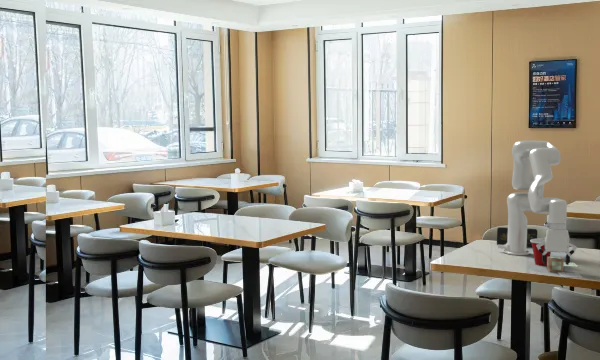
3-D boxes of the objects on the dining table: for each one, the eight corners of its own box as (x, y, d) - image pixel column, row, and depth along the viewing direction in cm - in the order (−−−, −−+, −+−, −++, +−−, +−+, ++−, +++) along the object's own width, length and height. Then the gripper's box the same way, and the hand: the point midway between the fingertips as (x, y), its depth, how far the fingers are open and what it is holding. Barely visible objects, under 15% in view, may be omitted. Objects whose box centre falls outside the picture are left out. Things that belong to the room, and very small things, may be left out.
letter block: (549, 272, 296) (549, 258, 296) (546, 269, 302) (547, 256, 302) (563, 273, 295) (563, 259, 294) (560, 270, 301) (561, 256, 300)
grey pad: (561, 277, 286) (561, 276, 286) (557, 272, 295) (557, 272, 295) (583, 278, 285) (583, 277, 285) (578, 273, 294) (578, 273, 293)
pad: (558, 265, 309) (558, 265, 309) (554, 262, 318) (554, 261, 318) (578, 266, 308) (578, 266, 308) (574, 262, 316) (574, 262, 316)
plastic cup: (525, 262, 317) (526, 237, 316) (546, 261, 318) (547, 237, 317) (535, 267, 306) (536, 241, 305) (557, 266, 307) (558, 241, 306)
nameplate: (536, 246, 358) (537, 228, 358) (536, 247, 357) (537, 229, 356) (496, 245, 363) (497, 227, 362) (496, 245, 361) (497, 227, 360)
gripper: (538, 227, 295) (537, 264, 296) (579, 228, 291) (577, 266, 292) (535, 224, 302) (534, 261, 303) (575, 226, 299) (574, 263, 300)
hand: (555, 263), depth 298 cm, fingers open, 9 cm apart
